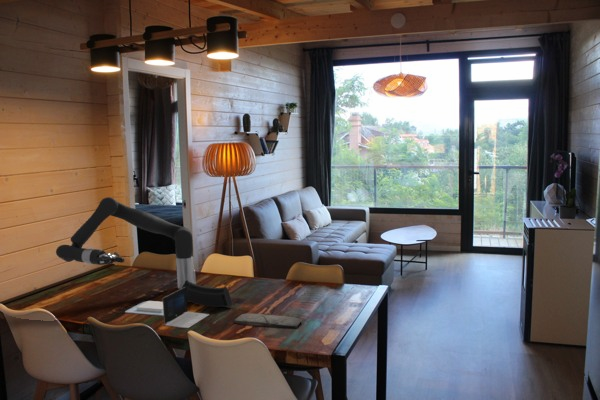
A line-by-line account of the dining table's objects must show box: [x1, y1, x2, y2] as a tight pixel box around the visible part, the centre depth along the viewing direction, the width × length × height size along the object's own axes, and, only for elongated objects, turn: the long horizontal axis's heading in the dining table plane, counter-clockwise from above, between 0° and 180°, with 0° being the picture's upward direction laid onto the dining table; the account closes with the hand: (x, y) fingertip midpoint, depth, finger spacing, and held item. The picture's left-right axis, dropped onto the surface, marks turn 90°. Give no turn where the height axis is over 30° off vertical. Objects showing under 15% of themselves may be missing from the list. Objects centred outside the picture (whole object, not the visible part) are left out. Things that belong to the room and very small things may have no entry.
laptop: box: [162, 287, 210, 329], centre depth 240 cm, size 18×12×13 cm
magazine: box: [181, 280, 233, 308], centre depth 262 cm, size 17×3×30 cm
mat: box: [124, 301, 164, 317], centre depth 259 cm, size 21×16×1 cm
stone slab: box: [234, 313, 303, 330], centre depth 235 cm, size 10×3×30 cm
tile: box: [137, 300, 163, 312], centre depth 258 cm, size 2×10×14 cm
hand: (123, 260), depth 261 cm, fingers closed
